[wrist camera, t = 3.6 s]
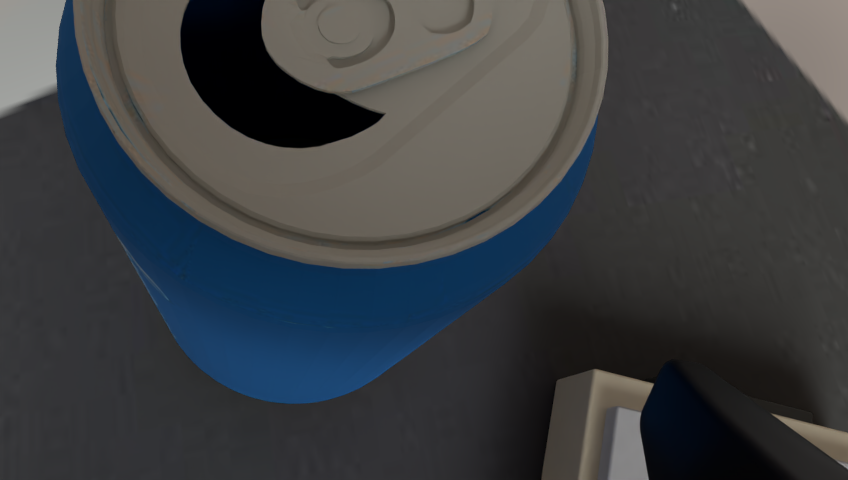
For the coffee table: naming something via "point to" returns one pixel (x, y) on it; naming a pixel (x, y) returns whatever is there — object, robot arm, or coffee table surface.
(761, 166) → the coffee table surface
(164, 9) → the beverage can
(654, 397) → the robot arm
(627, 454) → the kitchen scale
